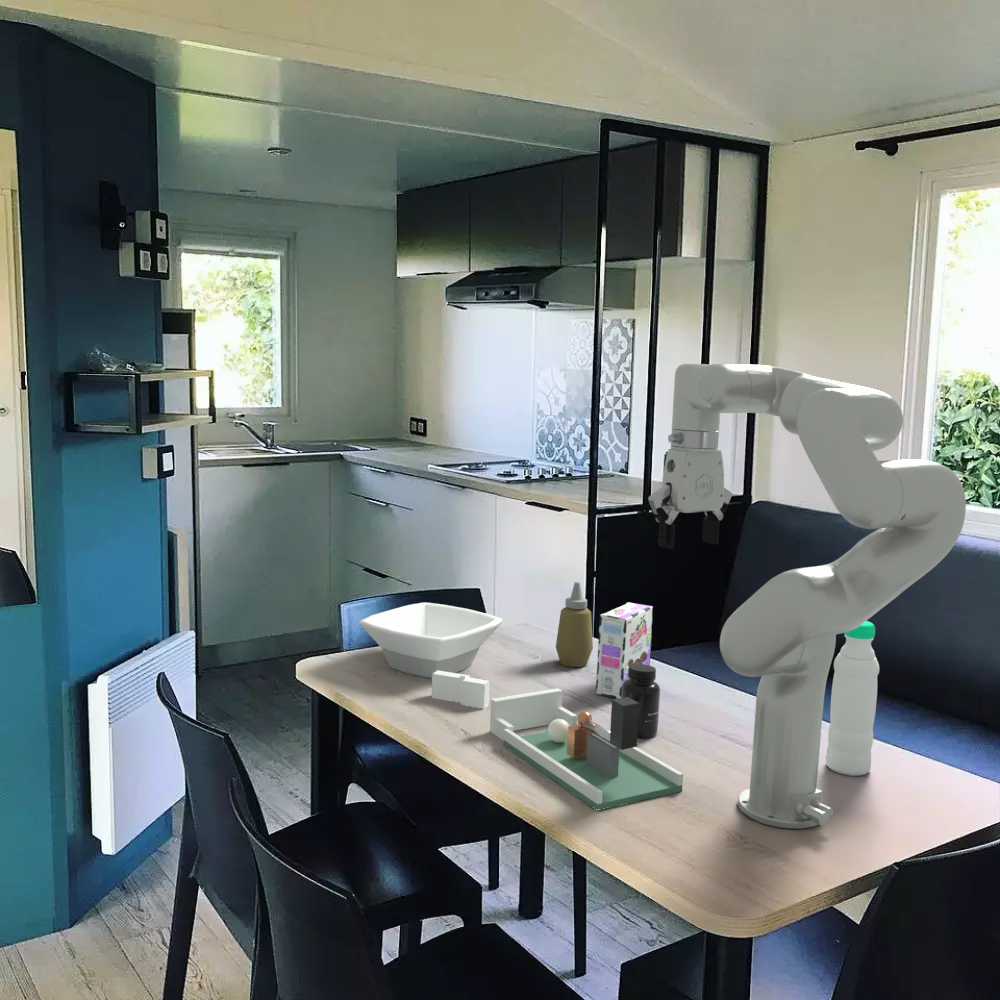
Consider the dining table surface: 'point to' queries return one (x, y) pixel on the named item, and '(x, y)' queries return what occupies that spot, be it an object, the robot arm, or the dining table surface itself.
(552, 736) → the ball
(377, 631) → the bowl
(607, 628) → the candy box
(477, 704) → the white stepped block
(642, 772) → the pitch
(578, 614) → the squeeze bottle
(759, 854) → the dining table surface
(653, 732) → the supplement bottle
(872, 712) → the water bottle
